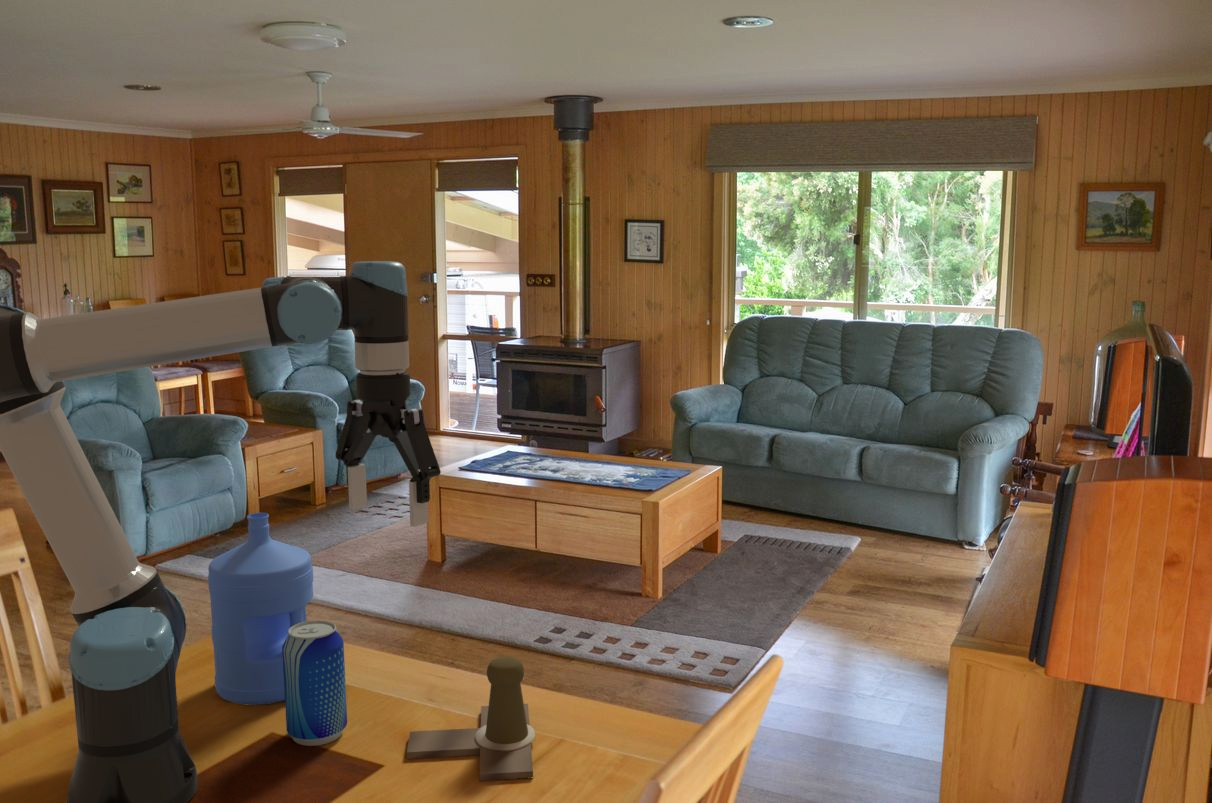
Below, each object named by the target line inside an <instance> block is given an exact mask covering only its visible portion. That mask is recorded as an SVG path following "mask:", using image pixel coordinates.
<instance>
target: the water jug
mask: <svg viewBox="0 0 1212 803" xmlns="http://www.w3.org/2000/svg"><path fill="white" fill-rule="evenodd" d="M269 517H270V515H269V513H267V512H254V513H250V514H248V515H247V516H246V519H247V520H248V525H247V530H248V540H247V541H245V542H244V543H242V544H239V545H238V546H236V547H233V548H232V549H230V550H228V551H225V552H224V553H221V554H220V555H218V556H216V557H215V558H212V560H211V561H210V562H209V564H208V576H207V578H208V579H207V583H208V592H209V599H210V612H211V614H210V616H211V631H210V632H211V640H212V646H213V655H214V656H213V658H214V673H215V674H214V687H215V688H214V689H215V691H216V693H217V695H218V696H219V697H220V698H221V699H223V700H225V701H227V702H229V701H230V703H232V702H233V704H237V703H238V704H237V705H244V704H248V706H259V705H258V704H262V705H269V703H270V704H276V703H279V702H285V691H284V674H283V656H282V646H283V644H284V642H285V640H286V638H287V636H288V635H289V634H288V630H289V629H290V628H291V627H292V626H294V625H296V624H299V623H302V622H306V621H307V608H306V606H307V605H308V604H309V603H310V602H311V601H312V599H313V598H314V567H313V564H312V561H313V560H312V556H311V554H310V552H309V551H307V550H306V549H304V548H302V547H298V546H295V545H292V544H287V543H284V542H281V541H278V540H275V539H272V538H271V536H270V523H269ZM275 702H276V703H275ZM249 704H250V705H249Z"/></svg>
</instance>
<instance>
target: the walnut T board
mask: <svg viewBox="0 0 1212 803" xmlns="http://www.w3.org/2000/svg"><path fill="white" fill-rule="evenodd" d="M488 707H489V705H481V706H480V727H473V728H471V727H470V728H454V729H453V728H452V729H451V728H450V729H435V730H434V729H433V730H414V731H413V730H411V731H409V736H408V741H407V742H408V743H407V749H406V759H407V760H413V759H414V760H415V759H429V758H430V759H432V758H450V757H468V756H470V757H471V756H479V782H491V781H506V780H505V779H511V780H518V779H517V778H528V777H530V778H528V779H532V778H531V777H533V778H534V767H533V754H532V753H533V752H532V743H533V742H534V740H535V738H536V732H535V729H534V728H533V727H532V726H531V725H530V716H529V715H530V714H529V703H524V709H525V715H526V721H527V728H528V736H527V737H526V738H525V739H523V740H522V741H519V742H516V743H512V744H498V743H494V742H491V741H489V740H488V739H487V738H486V736H485V734H486V725H487V716H488Z"/></svg>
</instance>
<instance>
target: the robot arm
mask: <svg viewBox="0 0 1212 803" xmlns="http://www.w3.org/2000/svg"><path fill="white" fill-rule="evenodd" d="M261 286H262V287H256V288H250V289H242V290H235V291H228V292H227V291H226V292H221V293H213V294H207V295H201V296H194V297H185V298H180V299H178V298H177V299H172V300H164V301H158V302H153V303H152V302H151V303H144V304H137V305H130V306H124V307H123V306H122V307H116V308H110V309H103V310H96V311H89V312H83V313H82V312H81V313H75V314H70V315H69V314H68V315H62V316H54V317H47V318H40V317H38V315H35V314H34V313H32V312H30V311H29V312H26V311H24V310H22V309H20V308H17V307H13V306H11V305H5V304H0V452H1V454H2V456H3V458H4V459H5V463H7V465H8V468H9V469H10V472H11V473H12V475H13V477H14V479H15V480H16V483H17V484H18V487H19V489H20V490H21V492H22V494H23V496H24V498H25V500H26V502H27V504H28V506H29V507H30V509H31V511H32V512H33V515H34V517H35V519H36V521H37V522H38V525H39V526H40V529H41V530H42V532H43V534H44V536H45V538H46V540H47V541H48V543H49V545H50V548H51V550H52V551H53V554H54V555H55V557H56V559H57V561H58V563H59V565H60V567H61V569H62V570H63V572H64V574H65V576H66V578H67V579H68V582H69V583H70V586H71V588H72V590H73V591H74V597H73V600H72V602H71V604H70V605H69V611H70V613H71V615H72V617H73V619H74V621H75V622H76V624H77V626H78V627H76V629H74V630H75V631H73V634H72V635H71V638H70V641H69V642H70V643H69V653H68V664H69V670H70V671H71V681H72V682H71V684H72V694H73V703H74V704H73V705H74V713H75V723H76V724H75V725H76V735H77V748H78V753H77V757H76V760H75V764H74V768H73V770H72V771H73V772H72V774H71V778H70V782H69V785H68V789H67V794H66V803H189V802H190V801H191V800H192V798H194V796H195V795H196V793H197V791H198V788H199V786H198V785H199V783H198V772H197V767H196V764H195V762H194V760H193V758H192V756H191V754H190V751H189V749H188V747H187V745H186V743H185V741H184V739H183V737H182V734H181V732H180V727H179V726H180V725H179V715H178V714H179V712H178V711H179V710H178V698H177V696H178V695H177V686H176V685H177V684H176V683H177V680H176V676H177V675H176V672H177V668H178V663H179V658H180V657H181V656H180V655H181V651H182V647H183V645H184V641H185V639H186V633H187V622H186V621H187V618H186V612H185V609H184V607H183V605H182V603H181V601H180V599H179V597H178V596H177V595H176V594H175V593H174V592H173V591H172V589H171V590H170V589H169V588H168V587H167V586H165V584H164V583H163V580H162V578H161V576H160V575H159V573H158V571H157V569H156V568H155V567H154V566H152V565H148V564H144V563H141V562H140V561H139V559H138V557H137V556H136V554H135V552H134V550H133V548H132V546H131V544H130V542H129V540H128V538H127V536H126V534H125V532H124V530H123V528H122V525H121V524H120V521H119V520H118V518H117V516H116V514H115V512H114V510H113V508H112V506H111V504H110V503H109V499H108V498H107V496H106V494H105V492H104V491H103V488H102V486H101V484H100V482H99V480H98V478H97V476H96V475H95V473H94V470H93V468H92V466H91V464H90V463H89V460H88V458H87V455H85V452H84V450H83V449H82V446H81V444H80V443H79V440H78V438H77V436H76V434H75V433H74V431H73V428H72V426H71V425H70V423H69V422H70V421H69V420H68V418H67V417H66V415H65V412H64V411H63V408H62V407H61V402H62V399H63V396H64V394H65V392H66V390H67V388H66V387H65V384H64V382H65V381H72V380H77V379H82V378H89V377H95V376H101V375H108V374H114V373H120V372H123V371H124V372H126V371H131V370H137V369H138V370H139V369H145V368H151V367H156V366H163V365H169V364H173V363H180V362H186V361H192V360H199V359H204V358H211V357H216V356H223V355H229V354H235V353H241V352H247V351H253V350H258V349H265V348H270V347H271V348H272V347H281V346H287V345H293V344H304V345H314V344H319V343H321V342H324V341H326V340H328V339H329V338H330V337H332V336H333V335H334V334H335V333H336V331H348V330H349V331H350V330H351V331H352V330H353V332H354V368H355V369H356V370H358V373H357V374H356V375H355V384H356V385H355V386H356V387H355V388H356V389H355V391H356V397H357V399H354V400H353V399H352V400H348V401H347V404H346V416H345V417H346V418H345V421H344V423H343V428H342V430H341V431H342V432H341V434H340V438H339V440H338V446H337V448H336V452H335V459H336V460H338V461H340V460H341V461H342V462H343V465H344V466H345V469H346V484H347V486H348V505H349V506H348V508H349V511H356V510H360V509H364V508H368V492H367V490H368V489H367V469H366V464H364V463H365V462H366V460H365V459H364V458H365V456H366V454H367V452H368V451H369V449H370V447H371V446H372V445H373V444H372V443H374V440H375V439H376V437H377V436H380V437H383V438H387V439H388V440H389V442H391V443H393V444H394V445H395V447H396V449H397V451H398V452H399V453H398V454H399V455H400V456H401V459H402V460H403V462H404V464H405V466H406V468H407V469H408V471H409V473H410V475H411V478H410V479H409V480H408V489H409V490H408V494H409V495H408V496H409V499H408V500H409V518H410V519H409V526H410V527H413V528H414V527H418V526H421V525H425V524H428V523H429V502H430V499H431V495H430V494H431V492H430V491H431V490H430V489H431V488H430V480H431V479H432V478H434V477H437V476H438V477H439V476H440V475H441V469H440V466H439V463H438V460H437V456H436V454H435V451H434V449H433V445H432V442H431V439H430V437H429V434H428V431H427V429H426V426H425V420H424V411H423V409H422V408H421V407H416V408H412V409H408V408H407V405H406V402H407V399H408V398H409V397H410V396H411V374H410V372H408V371H407V369H408V368H410V349H409V348H410V346H409V339H410V338H409V292H408V284H407V274H406V268H405V265H403V264H402V263H401V262H399V261H392V260H390V261H389V260H387V261H386V260H383V261H382V260H381V261H380V260H376V261H375V260H372V261H371V260H370V261H369V260H367V261H363V260H362V261H355V262H353V263H352V265H351V271H350V274H349V275H340V276H316V275H315V276H310V275H309V276H308V275H307V276H292V275H284V276H275V277H267V278H265V279H264V280H263V282H262V285H261Z"/></svg>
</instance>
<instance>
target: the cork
mask: <svg viewBox="0 0 1212 803" xmlns="http://www.w3.org/2000/svg"><path fill="white" fill-rule="evenodd" d="M524 675H525V668H524V665H523V663H522V661H521V660H520V659H519V658H517V657H514V656H500V657H496V658H494V659H492V660H491V661H490V662H489V663H488V665H487V669H486V677H487V681H488V682H489V683H490V691H489V698H488V706H489V707H488V716H487V725H486V734H485V736H486V738H487V739H488V740H489V741H491V742H494V743H498V744H512V743H516V742H519V741H522V740H523V739H525V738H526V737H527V736H528V728H527V721H526V715H525V709H524V704H525V703H524V698H523V691H522V685H521V682H522V681H523V680H524Z"/></svg>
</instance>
